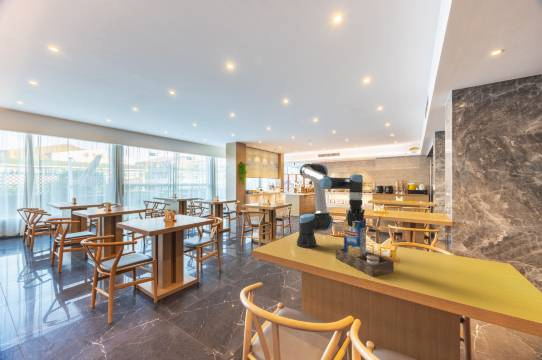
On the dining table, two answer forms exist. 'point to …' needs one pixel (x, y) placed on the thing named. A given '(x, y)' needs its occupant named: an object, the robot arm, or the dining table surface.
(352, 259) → the caddy
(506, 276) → the dining table surface
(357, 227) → the beverage box
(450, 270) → the dining table surface
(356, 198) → the robot arm
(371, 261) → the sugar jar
